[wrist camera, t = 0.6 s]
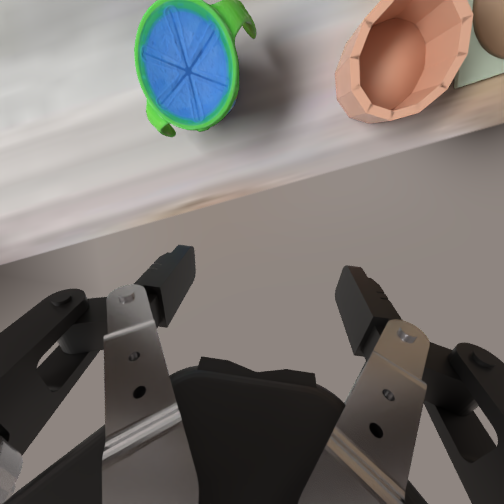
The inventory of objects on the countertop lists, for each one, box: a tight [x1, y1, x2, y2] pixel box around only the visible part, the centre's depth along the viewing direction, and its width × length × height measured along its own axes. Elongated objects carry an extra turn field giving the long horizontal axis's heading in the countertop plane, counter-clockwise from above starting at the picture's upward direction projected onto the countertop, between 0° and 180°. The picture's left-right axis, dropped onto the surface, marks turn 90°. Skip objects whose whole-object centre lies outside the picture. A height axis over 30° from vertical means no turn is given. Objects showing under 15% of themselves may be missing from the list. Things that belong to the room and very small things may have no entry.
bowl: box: [335, 0, 473, 124], centre depth 25 cm, size 11×11×6 cm
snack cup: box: [134, 0, 256, 137], centre depth 26 cm, size 16×10×10 cm
